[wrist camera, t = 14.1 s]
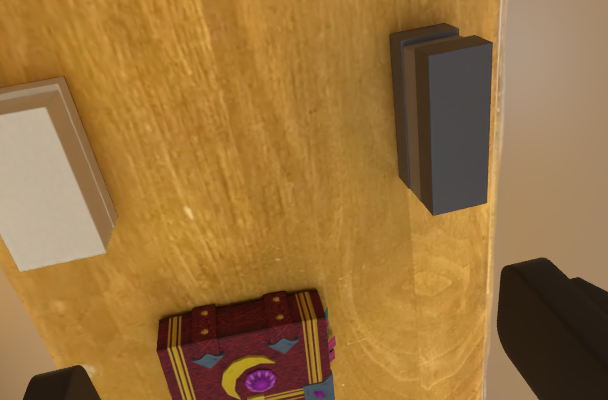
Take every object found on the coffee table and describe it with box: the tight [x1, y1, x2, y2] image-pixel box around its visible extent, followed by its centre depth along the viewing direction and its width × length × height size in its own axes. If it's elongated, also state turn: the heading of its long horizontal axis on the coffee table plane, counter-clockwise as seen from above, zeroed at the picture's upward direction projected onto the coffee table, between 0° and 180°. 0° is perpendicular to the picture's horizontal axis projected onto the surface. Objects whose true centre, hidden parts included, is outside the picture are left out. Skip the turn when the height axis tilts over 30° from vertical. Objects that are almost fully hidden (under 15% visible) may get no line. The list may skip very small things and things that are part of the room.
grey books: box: [390, 23, 493, 216], centre depth 38 cm, size 12×4×7 cm, turn 9°
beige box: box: [0, 77, 118, 238], centre depth 36 cm, size 12×6×4 cm, turn 8°
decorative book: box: [157, 290, 336, 400], centre depth 47 cm, size 11×16×5 cm
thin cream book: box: [0, 97, 110, 272], centre depth 33 cm, size 11×6×2 cm, turn 8°
